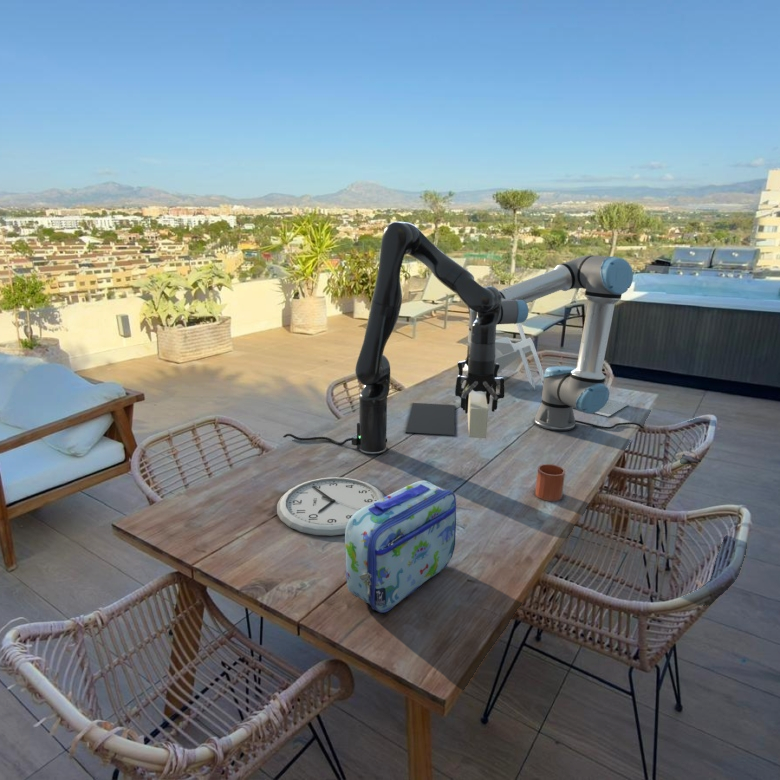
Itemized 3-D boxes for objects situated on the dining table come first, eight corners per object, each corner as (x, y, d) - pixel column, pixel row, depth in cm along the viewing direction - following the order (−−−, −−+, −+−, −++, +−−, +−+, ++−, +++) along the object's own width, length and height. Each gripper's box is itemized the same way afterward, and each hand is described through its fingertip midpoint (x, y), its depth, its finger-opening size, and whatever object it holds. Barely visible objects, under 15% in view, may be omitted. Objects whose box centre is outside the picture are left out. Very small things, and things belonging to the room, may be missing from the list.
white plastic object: (482, 418, 267) (461, 395, 242) (463, 346, 289) (443, 318, 265) (552, 394, 255) (538, 367, 230) (527, 321, 277) (512, 289, 252)
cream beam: (481, 408, 178) (483, 383, 175) (486, 438, 153) (488, 409, 150) (467, 408, 178) (468, 382, 176) (468, 437, 154) (470, 408, 151)
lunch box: (374, 626, 100) (375, 530, 93) (338, 598, 107) (337, 508, 101) (459, 568, 117) (465, 484, 111) (424, 547, 124) (427, 467, 118)
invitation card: (608, 416, 214) (573, 407, 224) (608, 416, 214) (573, 407, 224) (627, 404, 229) (594, 396, 238) (627, 405, 229) (594, 397, 239)
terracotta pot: (559, 489, 154) (562, 464, 151) (564, 502, 147) (567, 476, 144) (533, 487, 154) (536, 463, 152) (537, 500, 147) (540, 474, 145)
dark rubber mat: (454, 406, 224) (454, 405, 224) (454, 436, 192) (454, 435, 192) (412, 403, 226) (412, 402, 226) (405, 433, 194) (405, 432, 194)
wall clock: (392, 527, 129) (269, 531, 127) (392, 533, 130) (269, 537, 127) (383, 473, 158) (282, 475, 155) (383, 478, 158) (283, 480, 156)
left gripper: (505, 355, 153) (501, 407, 158) (456, 353, 155) (454, 405, 160) (508, 361, 146) (503, 415, 151) (457, 359, 148) (454, 413, 153)
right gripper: (507, 342, 169) (501, 410, 176) (451, 340, 171) (447, 407, 178) (509, 347, 162) (503, 418, 169) (451, 345, 164) (447, 415, 171)
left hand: (478, 410), depth 155 cm, fingers open, 8 cm apart
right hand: (475, 412), depth 173 cm, fingers closed on cream beam, 5 cm apart
